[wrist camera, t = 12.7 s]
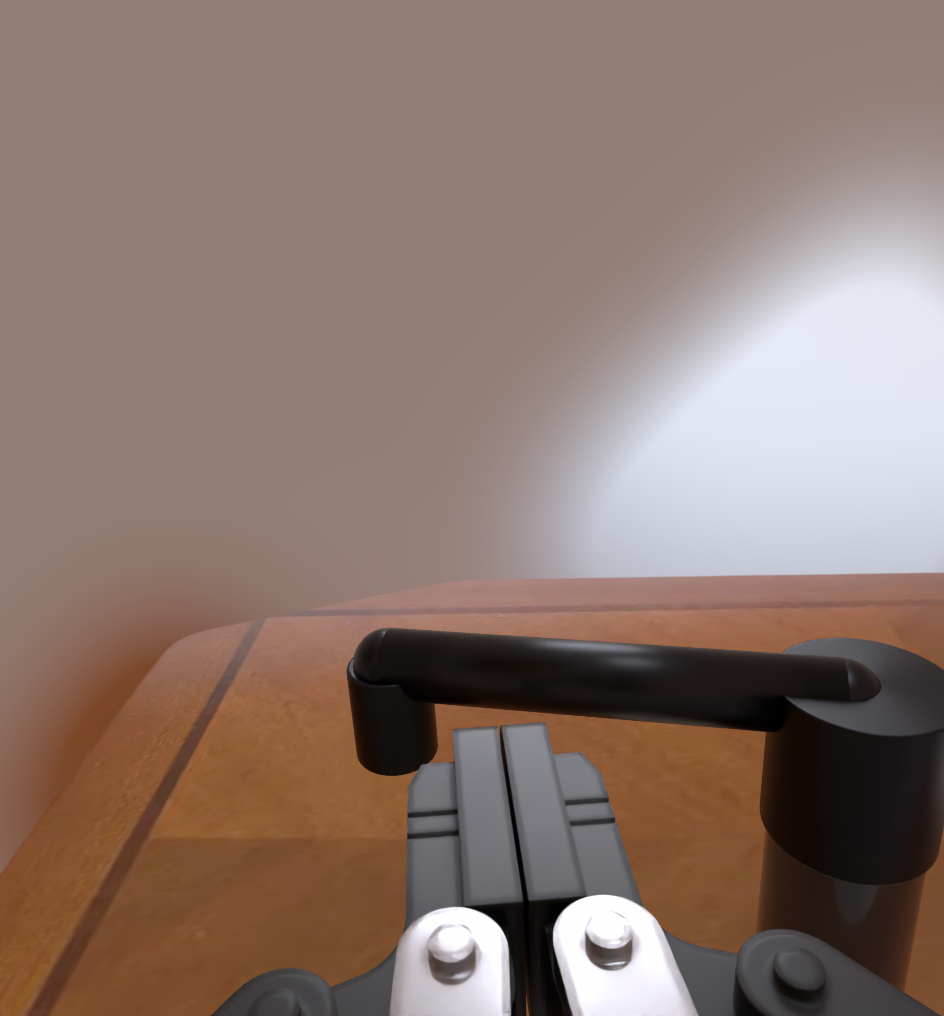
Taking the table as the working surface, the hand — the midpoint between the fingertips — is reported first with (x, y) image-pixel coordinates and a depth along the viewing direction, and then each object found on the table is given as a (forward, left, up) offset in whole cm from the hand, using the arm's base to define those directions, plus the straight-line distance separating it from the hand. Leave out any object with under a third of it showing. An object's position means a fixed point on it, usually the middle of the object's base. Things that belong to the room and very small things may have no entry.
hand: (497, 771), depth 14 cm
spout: (+9, +1, -8) cm, 12 cm away
